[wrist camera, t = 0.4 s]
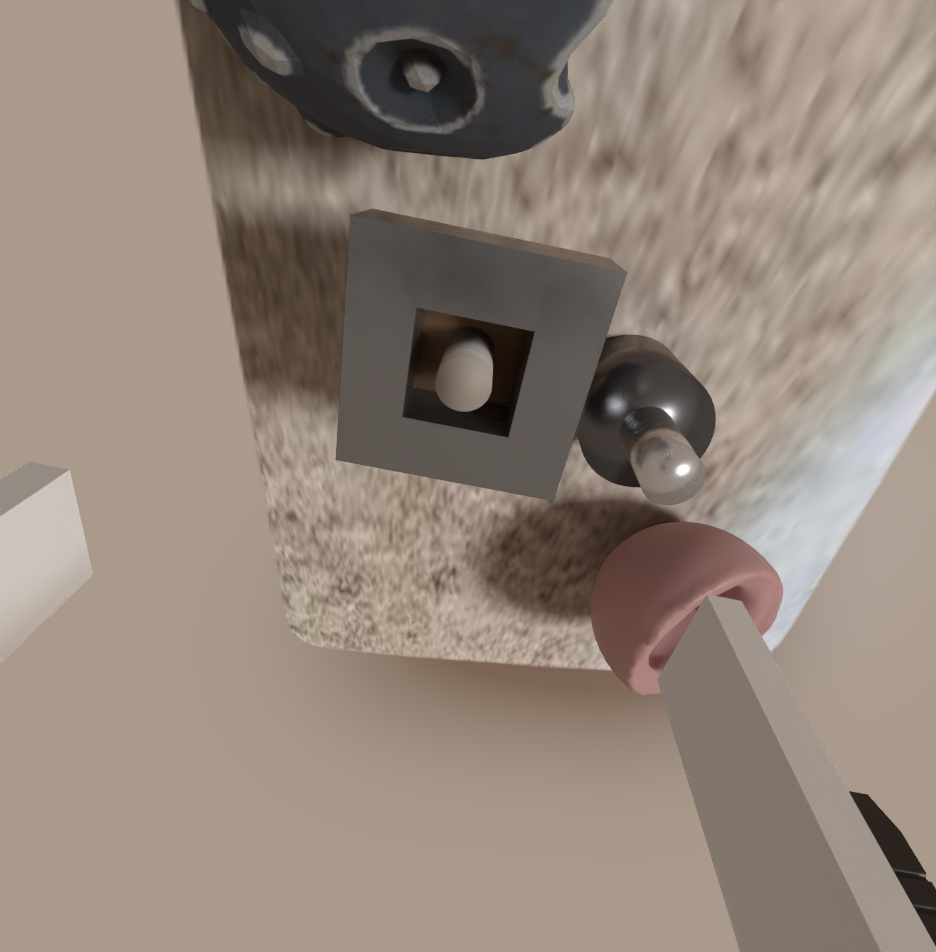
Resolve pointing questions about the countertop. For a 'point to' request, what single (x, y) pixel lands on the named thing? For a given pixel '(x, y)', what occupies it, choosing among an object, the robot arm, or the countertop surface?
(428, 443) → the square hole block
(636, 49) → the countertop surface
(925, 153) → the countertop surface
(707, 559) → the mortar and pestle
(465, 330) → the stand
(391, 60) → the dark grey piece
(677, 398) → the dark bottle with stopper
